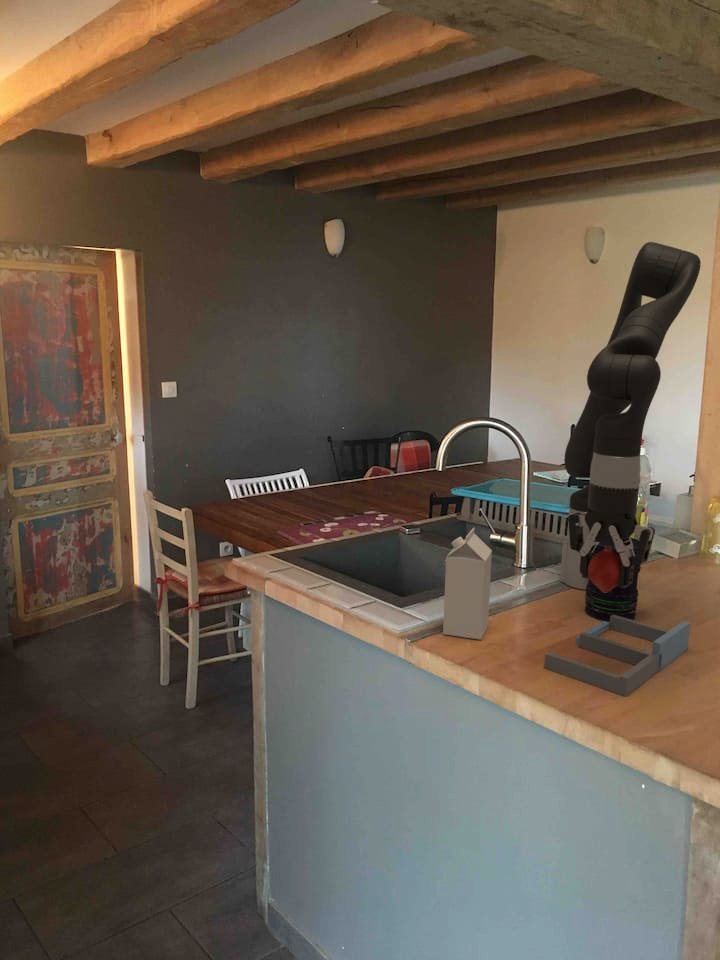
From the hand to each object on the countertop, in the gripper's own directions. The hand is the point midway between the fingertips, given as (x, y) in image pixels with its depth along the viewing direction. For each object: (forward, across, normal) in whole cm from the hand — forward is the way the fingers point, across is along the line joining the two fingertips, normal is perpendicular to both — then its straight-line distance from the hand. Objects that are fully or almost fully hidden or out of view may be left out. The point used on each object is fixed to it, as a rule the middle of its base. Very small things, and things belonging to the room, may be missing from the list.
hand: (605, 581), depth 126 cm
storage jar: (+15, -10, +25) cm, 31 cm away
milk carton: (+15, -25, -3) cm, 29 cm away
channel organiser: (+15, 0, +6) cm, 16 cm away
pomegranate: (+2, 0, 0) cm, 2 cm away
